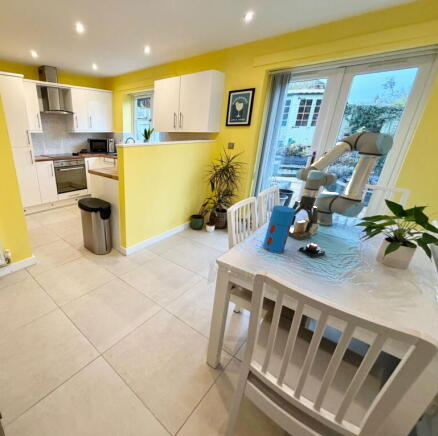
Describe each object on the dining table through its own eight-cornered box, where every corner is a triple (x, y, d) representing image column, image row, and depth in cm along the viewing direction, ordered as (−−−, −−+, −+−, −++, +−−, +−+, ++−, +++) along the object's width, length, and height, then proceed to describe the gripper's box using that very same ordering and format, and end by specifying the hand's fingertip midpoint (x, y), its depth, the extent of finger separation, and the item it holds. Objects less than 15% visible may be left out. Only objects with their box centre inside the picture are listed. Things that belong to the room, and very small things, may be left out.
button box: (310, 248, 135) (312, 242, 133) (324, 255, 128) (326, 248, 126) (298, 250, 131) (300, 244, 130) (311, 258, 124) (314, 251, 123)
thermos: (259, 246, 135) (268, 206, 125) (270, 242, 140) (280, 204, 130) (276, 254, 126) (288, 213, 117) (287, 250, 131) (299, 210, 122)
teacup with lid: (315, 236, 150) (321, 220, 145) (299, 232, 155) (304, 216, 150) (317, 230, 158) (322, 215, 154) (301, 226, 163) (306, 211, 159)
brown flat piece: (295, 230, 157) (296, 226, 156) (311, 237, 147) (312, 233, 146) (282, 233, 153) (284, 228, 152) (298, 240, 143) (299, 236, 142)
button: (312, 245, 130) (313, 242, 130) (318, 248, 127) (319, 245, 126) (307, 246, 129) (308, 243, 128) (313, 249, 126) (314, 246, 125)
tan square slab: (300, 230, 151) (303, 220, 148) (303, 231, 149) (306, 221, 146) (292, 231, 149) (295, 221, 146) (295, 232, 147) (298, 222, 144)
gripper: (288, 191, 148) (280, 222, 157) (323, 201, 129) (311, 236, 137) (296, 190, 151) (287, 221, 159) (332, 200, 131) (320, 234, 140)
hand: (299, 228), depth 148 cm, fingers open, 10 cm apart
